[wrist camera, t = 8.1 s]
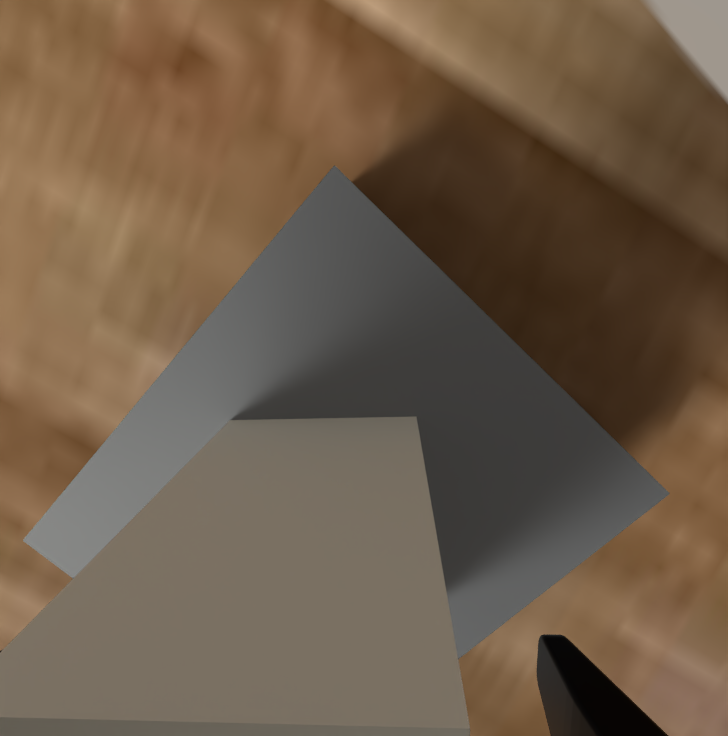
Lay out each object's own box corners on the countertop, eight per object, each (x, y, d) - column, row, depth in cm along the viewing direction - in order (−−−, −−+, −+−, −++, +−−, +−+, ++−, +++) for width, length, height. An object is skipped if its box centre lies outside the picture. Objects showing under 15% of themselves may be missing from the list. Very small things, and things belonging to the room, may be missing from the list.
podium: (614, 447, 15) (669, 493, 12) (333, 682, 18) (322, 765, 15) (346, 185, 13) (334, 165, 10) (88, 489, 16) (22, 540, 13)
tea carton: (419, 609, 13) (462, 1118, 5) (252, 607, 13) (64, 1087, 6) (416, 416, 12) (470, 728, 4) (230, 420, 12) (-62, 715, 4)
